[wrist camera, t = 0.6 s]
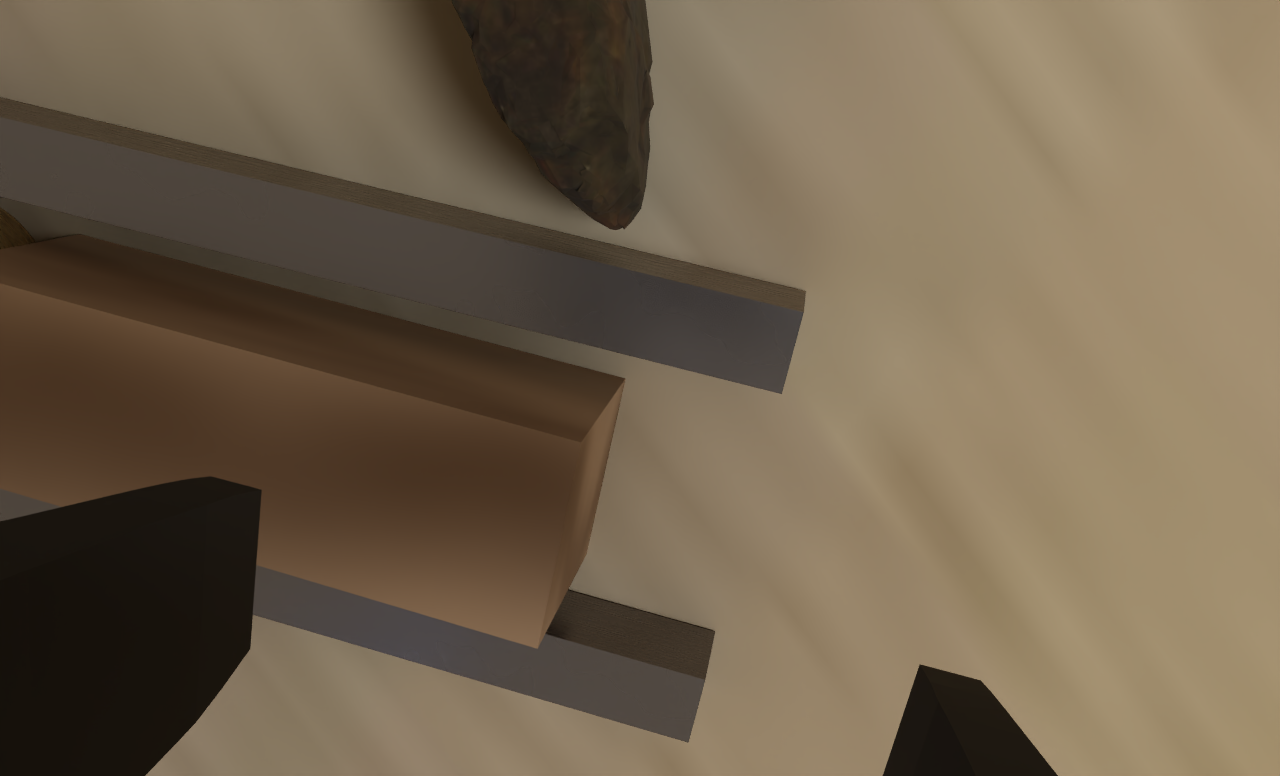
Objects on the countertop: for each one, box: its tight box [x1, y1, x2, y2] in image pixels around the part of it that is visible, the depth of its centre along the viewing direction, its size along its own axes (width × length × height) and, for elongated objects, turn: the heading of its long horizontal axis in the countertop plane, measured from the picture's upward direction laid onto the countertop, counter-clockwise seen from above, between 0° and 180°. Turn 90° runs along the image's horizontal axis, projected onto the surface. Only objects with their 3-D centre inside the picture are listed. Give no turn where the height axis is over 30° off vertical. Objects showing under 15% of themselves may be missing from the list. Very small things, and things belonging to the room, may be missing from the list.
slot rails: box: [0, 98, 806, 742], centre depth 20 cm, size 9×24×2 cm, turn 78°
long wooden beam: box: [0, 234, 625, 649], centre depth 19 cm, size 4×12×4 cm, turn 78°
